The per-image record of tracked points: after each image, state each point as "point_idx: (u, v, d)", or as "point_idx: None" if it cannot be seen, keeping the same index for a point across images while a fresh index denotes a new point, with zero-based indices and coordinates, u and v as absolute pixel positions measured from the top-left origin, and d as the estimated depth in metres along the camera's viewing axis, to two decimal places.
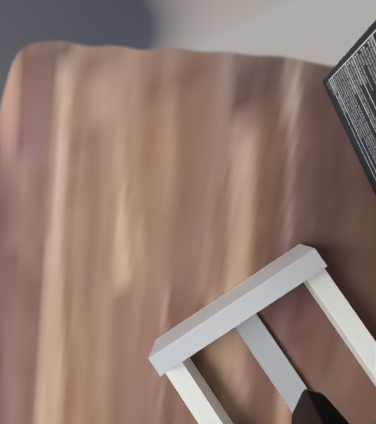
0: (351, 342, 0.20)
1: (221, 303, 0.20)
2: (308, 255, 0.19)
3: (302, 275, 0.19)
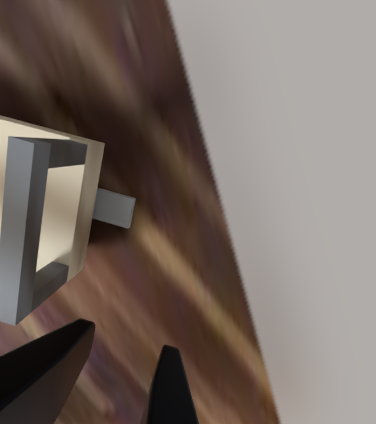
0: None
1: None
2: None
3: None
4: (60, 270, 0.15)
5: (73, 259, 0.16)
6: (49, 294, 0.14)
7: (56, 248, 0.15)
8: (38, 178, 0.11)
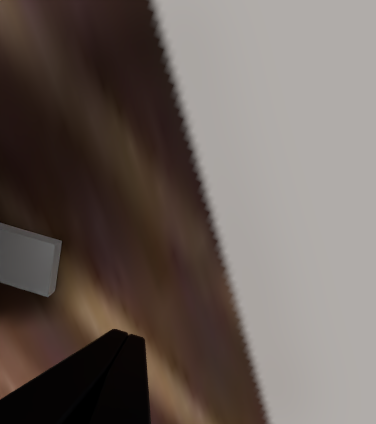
0: None
1: None
2: None
3: None
4: None
5: None
6: None
7: None
8: None
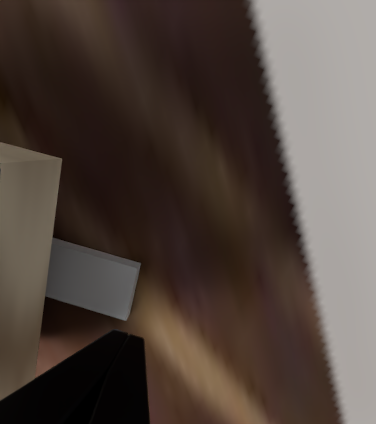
0: None
1: None
2: None
3: None
4: None
5: None
6: None
7: None
8: None
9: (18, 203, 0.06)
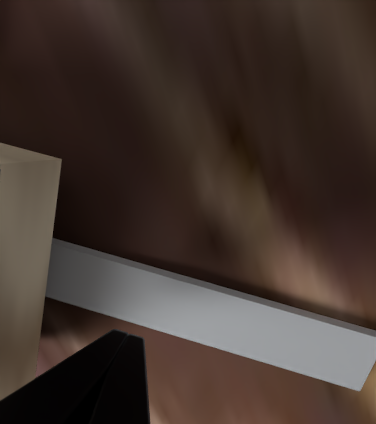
0: None
1: None
2: None
3: None
4: None
5: None
6: None
7: None
8: None
9: (18, 203, 0.06)
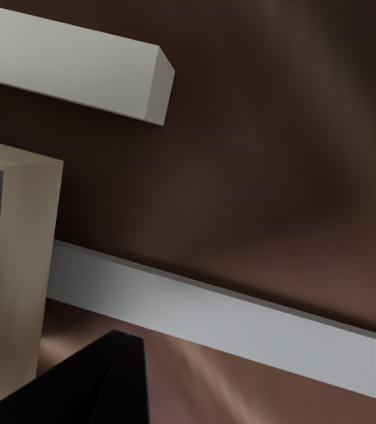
0: None
1: None
2: None
3: None
4: None
5: None
6: None
7: None
8: None
9: (20, 205, 0.06)
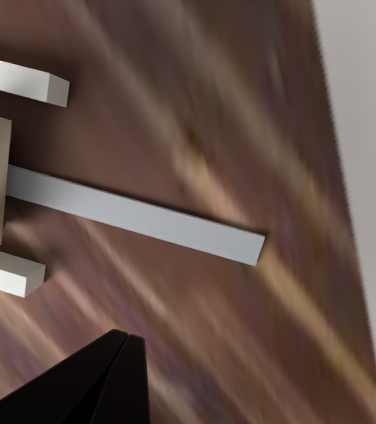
0: None
1: None
2: None
3: None
4: None
5: None
6: None
7: None
8: None
9: None
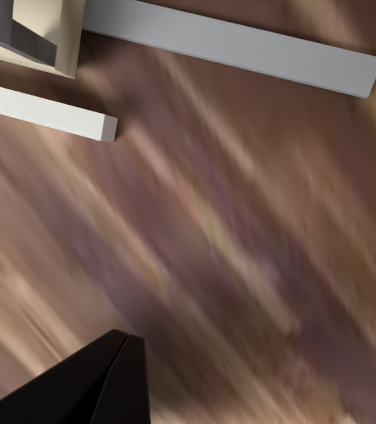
0: None
1: None
2: None
3: None
4: (46, 40, 0.13)
5: (62, 43, 0.14)
6: (33, 55, 0.12)
7: (43, 23, 0.14)
8: None
9: None
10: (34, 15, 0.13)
